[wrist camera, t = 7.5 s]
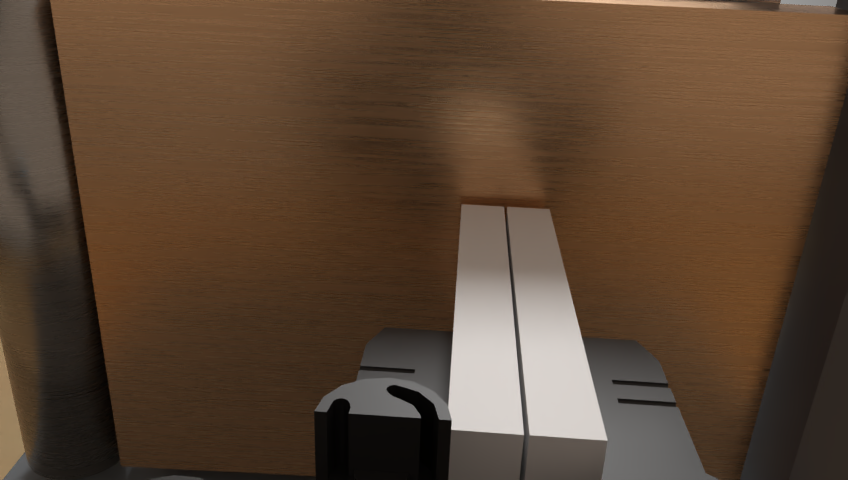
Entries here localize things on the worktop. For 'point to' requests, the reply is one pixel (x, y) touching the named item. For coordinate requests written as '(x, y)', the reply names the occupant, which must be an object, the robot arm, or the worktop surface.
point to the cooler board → (789, 374)
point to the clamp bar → (385, 201)
